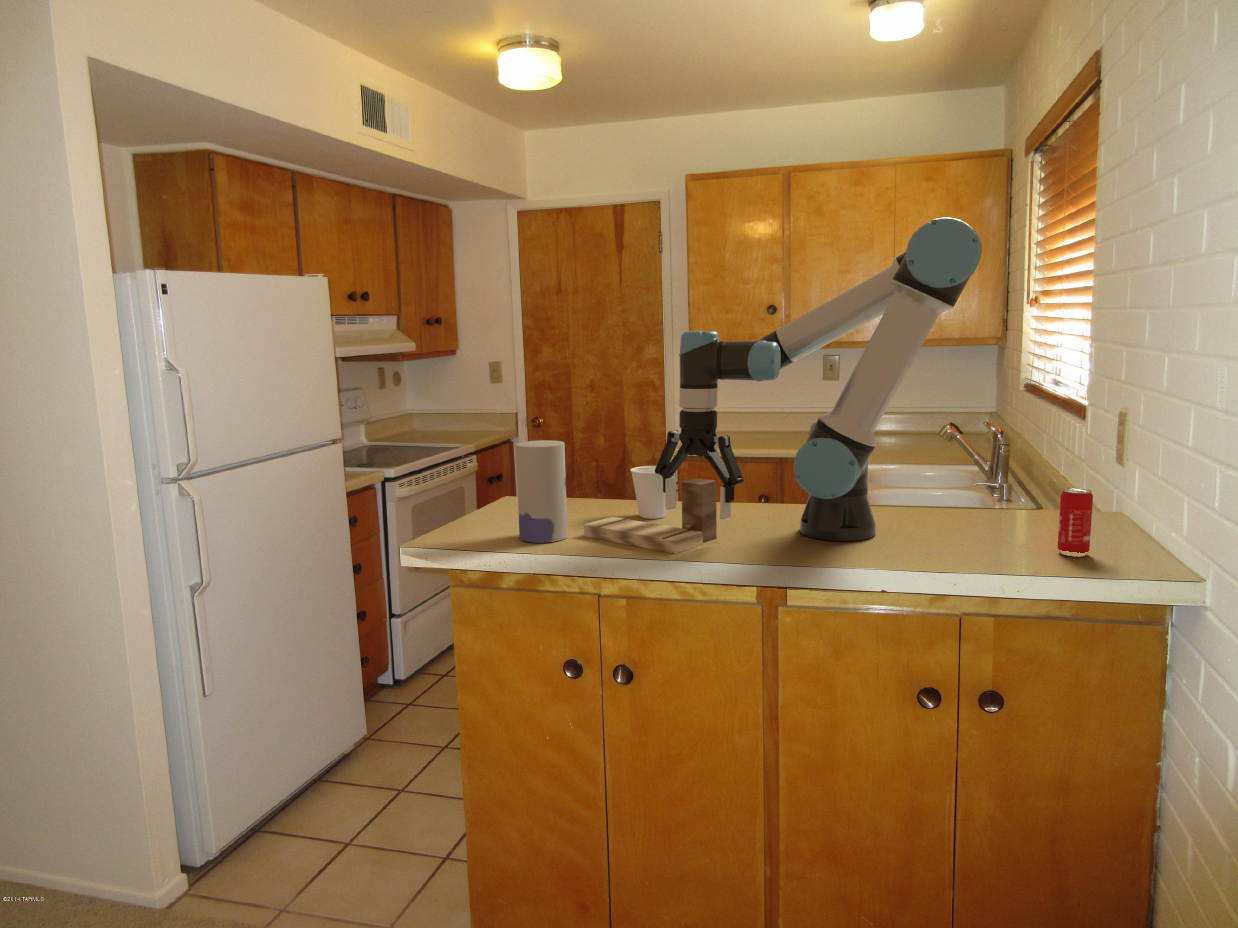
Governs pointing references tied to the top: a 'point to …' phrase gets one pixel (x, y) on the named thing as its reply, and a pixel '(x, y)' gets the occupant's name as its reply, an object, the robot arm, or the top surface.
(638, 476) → the cup
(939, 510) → the top surface
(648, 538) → the plank
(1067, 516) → the beverage can
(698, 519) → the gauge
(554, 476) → the container
